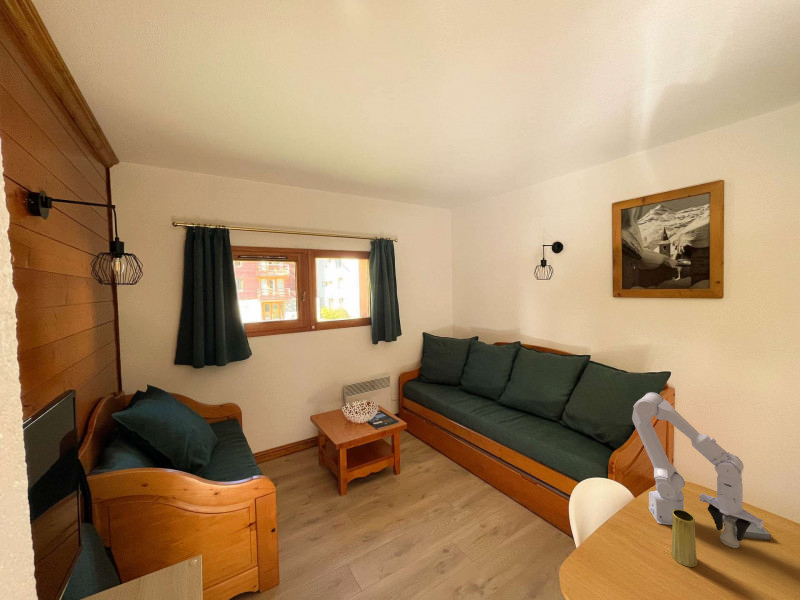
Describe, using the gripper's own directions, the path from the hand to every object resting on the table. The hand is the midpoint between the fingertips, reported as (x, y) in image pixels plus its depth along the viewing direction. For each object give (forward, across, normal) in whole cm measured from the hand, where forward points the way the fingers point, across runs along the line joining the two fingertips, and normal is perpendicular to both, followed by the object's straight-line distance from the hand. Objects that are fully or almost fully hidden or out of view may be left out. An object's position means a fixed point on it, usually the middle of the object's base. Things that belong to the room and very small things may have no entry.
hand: (729, 534), depth 105 cm
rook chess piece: (+3, 0, 0) cm, 3 cm away
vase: (+3, -4, -18) cm, 19 cm away
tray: (+3, -1, +11) cm, 12 cm away
